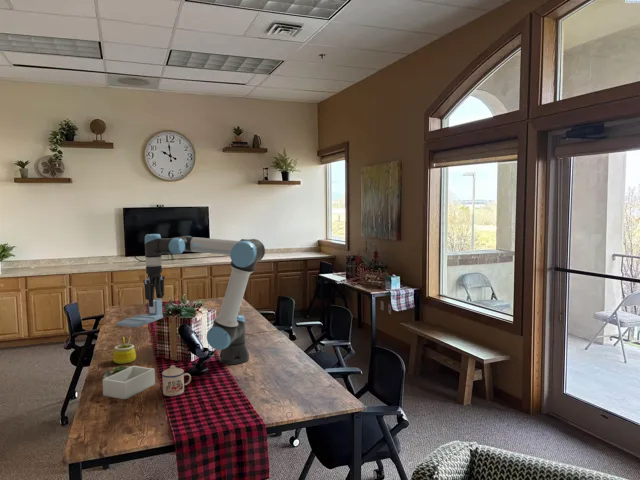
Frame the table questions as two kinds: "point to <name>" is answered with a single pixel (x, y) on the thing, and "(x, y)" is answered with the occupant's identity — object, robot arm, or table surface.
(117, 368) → the salad plate
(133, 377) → the tub
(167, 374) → the teacup with lid
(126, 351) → the mug
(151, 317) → the light blue l-shaped piece
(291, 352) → the table surface
